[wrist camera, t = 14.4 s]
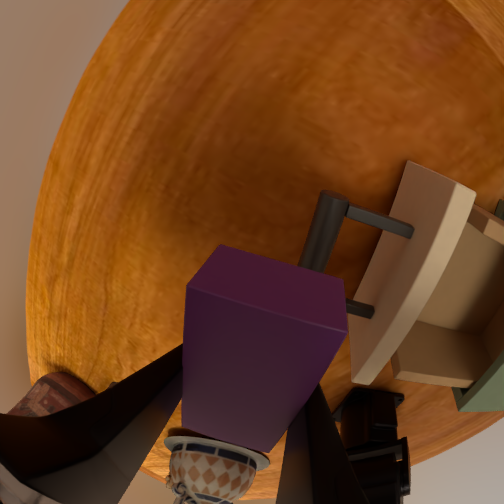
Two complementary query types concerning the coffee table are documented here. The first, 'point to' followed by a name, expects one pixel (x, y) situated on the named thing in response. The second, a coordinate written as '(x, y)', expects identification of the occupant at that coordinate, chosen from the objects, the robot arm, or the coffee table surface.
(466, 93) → the coffee table surface
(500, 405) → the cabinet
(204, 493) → the patterned domed piece
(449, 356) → the drawer
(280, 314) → the purple box
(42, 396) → the pottery
